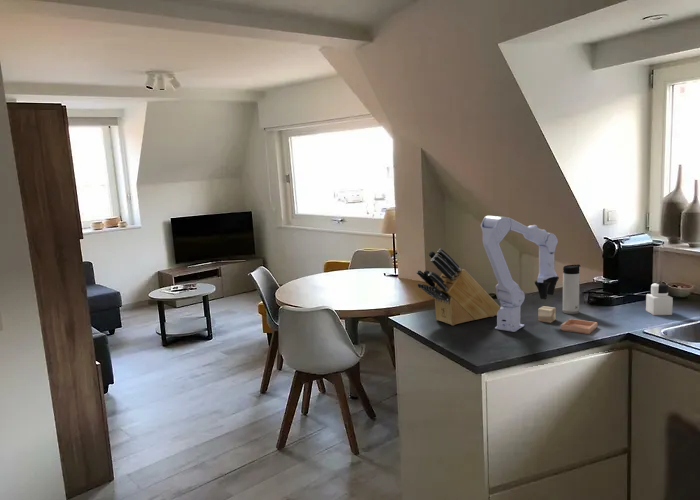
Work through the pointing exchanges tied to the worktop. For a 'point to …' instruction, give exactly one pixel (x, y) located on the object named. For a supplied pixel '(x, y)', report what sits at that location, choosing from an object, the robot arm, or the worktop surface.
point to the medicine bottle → (659, 300)
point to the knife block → (456, 292)
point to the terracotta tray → (579, 326)
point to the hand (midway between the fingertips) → (546, 296)
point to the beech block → (546, 314)
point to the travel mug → (571, 289)
